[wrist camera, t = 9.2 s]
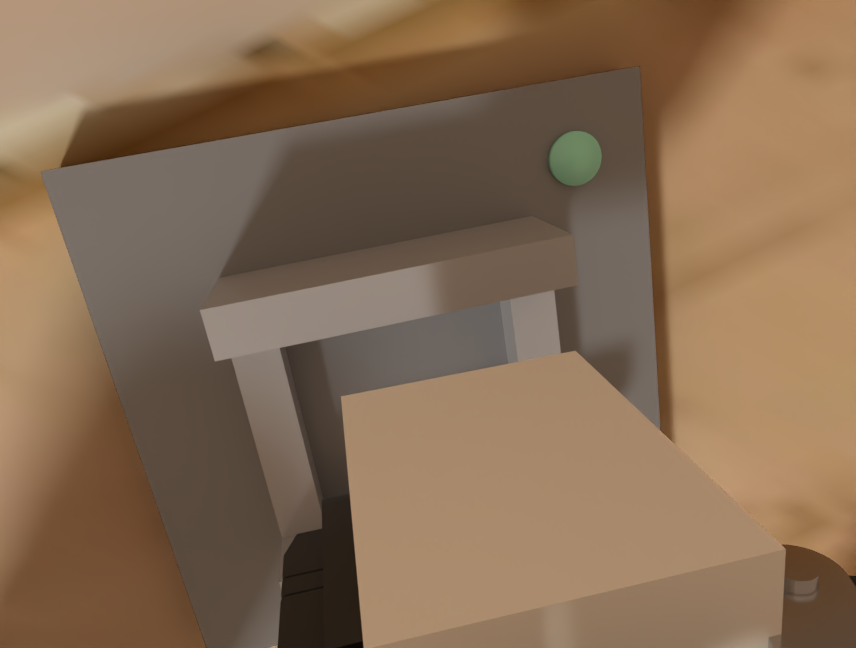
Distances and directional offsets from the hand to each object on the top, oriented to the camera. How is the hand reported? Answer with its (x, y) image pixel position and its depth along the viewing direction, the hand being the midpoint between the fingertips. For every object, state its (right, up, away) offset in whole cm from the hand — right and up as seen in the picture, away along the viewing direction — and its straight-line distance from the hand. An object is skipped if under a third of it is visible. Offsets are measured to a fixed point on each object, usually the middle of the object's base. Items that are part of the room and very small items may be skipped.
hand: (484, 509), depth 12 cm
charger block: (0, 0, +1) cm, 1 cm away
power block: (-2, 0, +8) cm, 8 cm away
